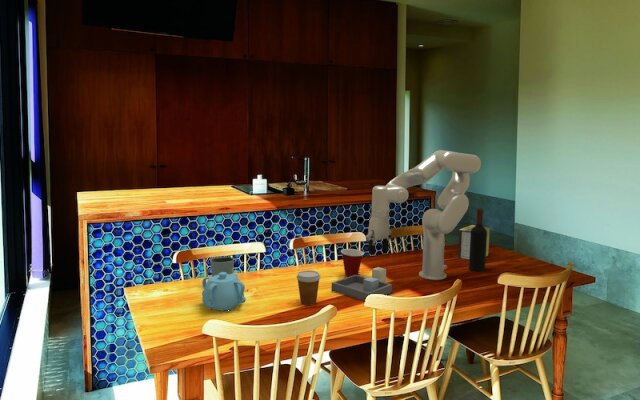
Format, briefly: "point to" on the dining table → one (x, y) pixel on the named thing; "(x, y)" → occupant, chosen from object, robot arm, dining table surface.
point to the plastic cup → (351, 261)
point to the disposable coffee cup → (308, 286)
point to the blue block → (370, 284)
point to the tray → (358, 287)
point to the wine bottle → (478, 245)
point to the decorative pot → (223, 292)
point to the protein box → (468, 242)
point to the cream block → (379, 274)
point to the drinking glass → (222, 265)
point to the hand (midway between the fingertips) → (378, 251)
